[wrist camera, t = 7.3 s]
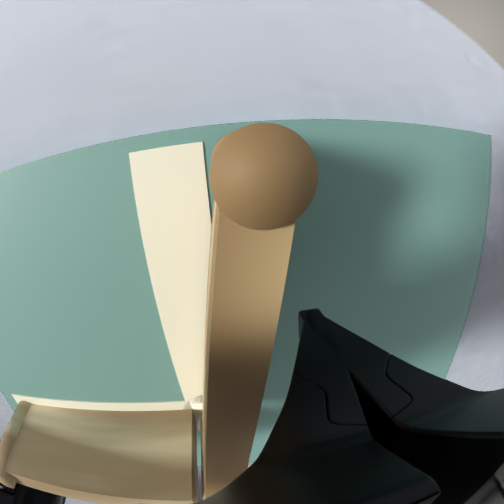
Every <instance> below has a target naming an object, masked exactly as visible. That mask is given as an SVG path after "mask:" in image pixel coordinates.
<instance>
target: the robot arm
mask: <svg viewBox="0 0 504 504" xmlns="http://www.w3.org/2000/svg"><path fill="white" fill-rule="evenodd" d="M298 327H299V345H298V350H297V355H296V360H295V365H294V369H293V374H292V378H291V382H290V386H289V390H288V394H287V397H286V400H285V402H284V405H283V407H282V410H281V412H280V415H279V417H278V419H277V421H276V423H275V425H274V427H273V429H272V431H271V433H270V436H269V438H268V440H267V442H266V444H265V446H264V448H263V449H262V451H261V453H260V455H259V456H258V458H257V459H256V461H255V462H254V463H253V464H252V465H251V466H250V467H249V468H248V469H246V470H245V471H244V472H243V473H241V474H240V475H239V476H237V477H236V478H235V479H233V480H232V481H231V482H229V483H228V484H227V485H225V486H224V487H223V488H221V489H220V490H218V491H217V492H216V493H214V494H213V495H211V496H210V497H208V498H206V499H204V500H202V501H199V502H196V503H192V504H504V388H503V389H499V390H495V391H486V392H483V391H475V390H471V389H468V388H465V387H463V386H460V385H458V384H455V383H453V382H450V381H448V380H445V379H443V378H441V377H438V376H436V375H433V374H431V373H429V372H426V371H424V370H422V369H420V368H417V367H415V366H413V365H411V364H409V363H407V362H405V361H404V360H402V359H400V358H398V357H396V356H394V355H393V354H390V353H389V352H387V351H385V350H383V349H382V348H380V347H378V346H376V345H374V344H373V343H371V342H369V341H367V340H366V339H364V338H362V337H360V336H358V335H357V334H355V333H353V332H351V331H350V330H348V329H346V328H344V327H343V326H341V325H339V324H337V323H335V322H334V321H332V320H330V319H328V318H327V317H325V316H324V315H323V313H322V312H321V311H320V309H318V308H314V309H308V310H302V311H299V313H298ZM65 499H66V497H64V496H60V495H56V494H52V493H48V492H45V491H41V490H38V489H35V488H31V487H28V486H25V485H22V484H19V483H16V485H15V488H10V487H7V486H5V485H3V484H2V483H0V504H65Z"/></svg>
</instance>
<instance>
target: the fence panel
mask: <svg viewBox="0 0 504 504" xmlns="http://www.w3.org/2000/svg"><path fill="white" fill-rule="evenodd" d="M317 185H318V167H317V162H316V159H315V156H314V154H313V152H312V150H311V148H310V147H309V145H308V144H307V142H306V141H305V140H304V139H303V138H302V137H301V136H300V135H299V134H297V133H296V132H294V131H293V130H291V129H289V128H287V127H285V126H282V125H279V124H274V123H255V124H250V125H247V126H244V127H242V128H240V129H238V130H235V131H233V132H231V133H229V134H227V135H225V136H223V137H222V138H221V139H219V140H218V142H217V143H216V144H215V146H214V148H213V151H212V155H211V165H210V187H211V191H212V195H213V197H214V203H213V214H212V226H211V239H210V253H209V267H208V283H207V300H206V320H205V342H204V369H203V449H204V476H205V497H206V498H208V497H210V496H211V495H213V494H214V493H216V492H217V491H218V490H220V489H221V488H223V487H224V486H225V485H227V484H228V483H229V482H231V481H232V480H233V479H235V478H236V477H237V476H239V475H240V474H241V473H243V472H244V471H245V470H246V469H247V467H248V463H249V458H250V454H251V450H252V445H253V441H254V437H255V432H256V428H257V423H258V419H259V414H260V410H261V405H262V400H263V396H264V391H265V386H266V381H267V376H268V371H269V366H270V361H271V356H272V351H273V346H274V341H275V336H276V331H277V325H278V320H279V315H280V309H281V304H282V298H283V292H284V287H285V281H286V275H287V269H288V264H289V258H290V252H291V245H292V239H293V233H294V227H295V220H296V219H297V218H299V217H300V216H301V215H302V214H303V213H304V212H305V211H306V209H307V208H308V207H309V205H310V204H311V202H312V200H313V198H314V195H315V193H316V189H317Z"/></svg>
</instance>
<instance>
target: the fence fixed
mask: <svg viewBox="0 0 504 504" xmlns="http://www.w3.org/2000/svg"><path fill="white" fill-rule="evenodd" d="M200 431H201V472H202V497H203V500H204V499H206V497H205V476H204V449H203V410H202V411H201V413H200ZM0 483H2V484H3V485H5V486H7V487H10V488H15V485H16V483H19V484H22V485H25V486H28V487H31V488H35V489H38V490H41V491H45V492H48V493H52V494H56V495H60V496H64V497H69V498H73V499H78V500H83V501H88V502H94V503H100V504H192V503H196V502H199V501H198V470H197V422H196V419H195V416H194V413H193V410H192V409H185V410H164V411H107V410H87V409H73V408H62V407H52V406H43V405H36V404H31V403H29V402H27V401H20V402H19V404H18V405H17V407H16V409H15V411H14V413H13V415H12V417H11V419H10V421H9V423H8V426H7V428H6V430H5V432H4V434H3V436H2V438H1V441H0Z"/></svg>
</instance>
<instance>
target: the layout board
mask: <svg viewBox="0 0 504 504" xmlns="http://www.w3.org/2000/svg"><path fill="white" fill-rule="evenodd" d="M255 123H274V124H279V125H282V126H285V127H287V128H289V129H291V130H293V131H294V132H296V133H297V134H299V135H300V136H301V137H302V138H303V139H304V140H305V141H306V142H307V144H308V145H309V147H310V148H311V150H312V152H313V154H314V156H315V159H316V162H317V167H318V185H317V189H316V193H315V195H314V198H313V200H312V202H311V204H310V205H309V207H308V208H307V209H306V211H305V212H304V213H303V214H302V215H301V216H300V217H299V218H297V219H296V220H295V227H294V233H293V239H292V245H291V252H290V258H289V264H288V269H287V275H286V281H285V287H284V292H283V298H282V304H281V309H280V315H279V320H278V325H277V331H276V336H275V341H274V346H273V351H272V356H271V361H270V366H269V371H268V376H267V381H266V386H265V391H264V396H263V400H262V405H261V410H260V414H259V419H258V423H257V428H256V432H255V437H254V441H253V445H252V450H251V454H250V458H249V463H250V462H255V461H256V459H257V458H258V456H259V455H260V453H261V451H262V449H263V448H264V446H265V444H266V442H267V440H268V438H269V436H270V433H271V431H272V429H273V427H274V425H275V423H276V421H277V419H278V417H279V415H280V412H281V410H282V407H283V405H284V402H285V400H286V397H287V394H288V390H289V386H290V382H291V378H292V374H293V369H294V365H295V360H296V355H297V350H298V345H299V327H298V313H299V311H302V310H308V309H314V308H318V309H320V311H321V312H322V313H323V315H324V316H325V317H327V318H328V319H330V320H332V321H334V322H335V323H337V324H339V325H341V326H343V327H344V328H346V329H348V330H350V331H351V332H353V333H355V334H357V335H358V336H360V337H362V338H364V339H366V340H367V341H369V342H371V343H373V344H374V345H376V346H378V347H380V348H382V349H383V350H385V351H387V352H389V353H390V354H393V355H394V356H396V357H398V358H400V359H402V360H404V361H405V362H407V363H409V364H411V365H413V366H415V367H417V368H420V369H422V370H424V371H426V372H429V373H431V374H433V375H436V376H438V377H441V378H443V379H445V377H446V375H447V372H448V370H449V367H450V365H451V362H452V359H453V357H454V354H455V351H456V348H457V345H458V342H459V339H460V336H461V333H462V330H463V327H464V324H465V320H466V317H467V313H468V310H469V306H470V302H471V299H472V295H473V291H474V286H475V282H476V278H477V273H478V268H479V263H480V258H481V253H482V247H483V241H484V234H485V227H486V220H487V211H488V201H489V189H490V172H491V135H486V134H481V133H475V132H470V131H464V130H457V129H451V128H444V127H436V126H428V125H419V124H409V123H398V122H385V121H368V120H339V119H301V120H272V121H254V122H240V123H229V124H218V125H209V126H200V127H192V128H184V129H177V130H170V131H164V132H158V133H152V134H146V135H140V136H135V137H130V138H125V139H120V140H115V141H110V142H106V143H101V144H97V145H92V146H88V147H84V148H80V149H76V150H72V151H69V152H65V153H61V154H58V155H54V156H51V157H47V158H44V159H40V160H37V161H34V162H31V163H28V164H25V165H22V166H19V167H16V168H13V169H10V170H7V171H4V172H1V173H0V391H1V392H2V394H3V395H4V397H5V398H6V400H7V401H8V403H9V404H10V406H11V407H12V408H13V410H14V411H15V409H16V407H17V405H18V404H19V402H20V401H27V402H29V403H31V404H36V405H43V406H52V407H62V408H73V409H87V410H107V411H164V410H185V409H192V410H193V413H194V416H195V419H196V422H197V467H201V431H200V413H201V411H202V410H203V369H204V342H205V320H206V300H207V283H208V267H209V253H210V239H211V226H212V214H213V203H214V197H213V195H212V191H211V187H210V165H211V155H212V151H213V148H214V146H215V144H216V143H217V142H218V140H219V139H221V138H222V137H223V136H225V135H227V134H229V133H231V132H233V131H235V130H238V129H240V128H242V127H244V126H247V125H250V124H255Z"/></svg>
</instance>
